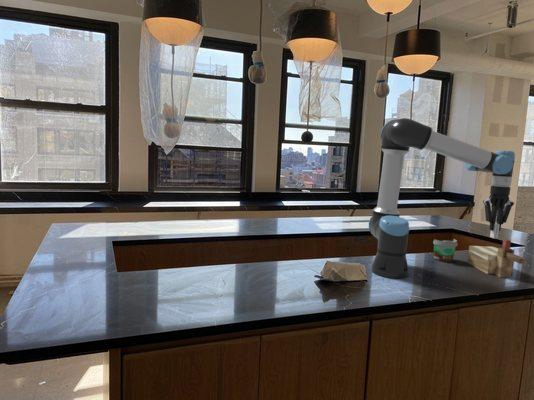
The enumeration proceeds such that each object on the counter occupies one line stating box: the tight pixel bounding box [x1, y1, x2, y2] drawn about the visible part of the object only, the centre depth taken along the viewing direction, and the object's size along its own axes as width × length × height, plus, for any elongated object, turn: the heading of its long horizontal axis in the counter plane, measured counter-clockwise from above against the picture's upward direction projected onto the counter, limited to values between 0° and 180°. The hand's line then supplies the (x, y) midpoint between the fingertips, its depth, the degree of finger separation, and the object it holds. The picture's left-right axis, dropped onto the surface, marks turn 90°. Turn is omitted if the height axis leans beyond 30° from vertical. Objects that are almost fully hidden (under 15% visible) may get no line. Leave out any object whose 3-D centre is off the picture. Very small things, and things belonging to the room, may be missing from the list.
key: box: [501, 239, 527, 265], centre depth 162 cm, size 2×12×7 cm, turn 2°
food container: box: [432, 238, 458, 263], centre depth 186 cm, size 12×6×10 cm, turn 105°
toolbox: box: [467, 247, 515, 279], centre depth 175 cm, size 11×20×12 cm, turn 2°
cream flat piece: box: [468, 245, 516, 263], centre depth 177 cm, size 12×15×4 cm
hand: (493, 237), depth 175 cm, fingers closed
